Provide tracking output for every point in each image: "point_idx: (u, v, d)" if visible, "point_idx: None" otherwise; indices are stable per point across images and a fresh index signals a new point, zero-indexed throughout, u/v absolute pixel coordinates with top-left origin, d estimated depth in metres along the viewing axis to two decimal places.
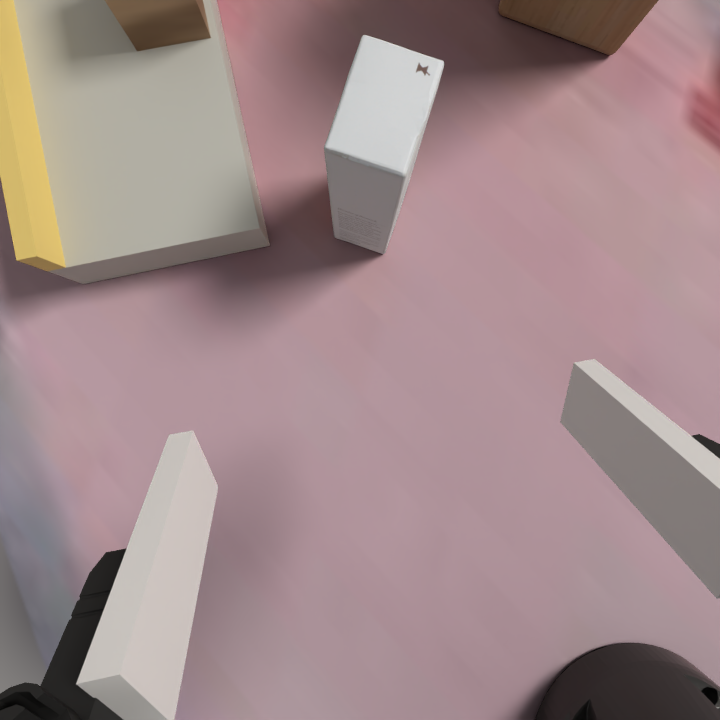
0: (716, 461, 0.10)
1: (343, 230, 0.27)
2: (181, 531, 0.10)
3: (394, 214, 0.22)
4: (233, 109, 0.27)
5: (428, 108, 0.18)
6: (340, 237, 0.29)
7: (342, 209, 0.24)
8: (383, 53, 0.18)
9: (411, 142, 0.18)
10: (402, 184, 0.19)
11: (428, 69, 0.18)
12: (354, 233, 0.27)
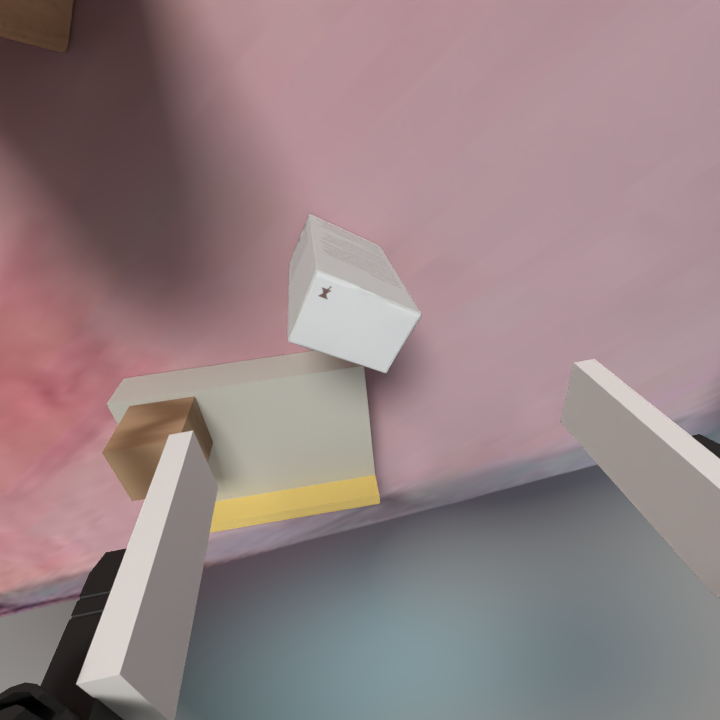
0: (716, 461, 0.10)
1: None
2: (181, 531, 0.10)
3: None
4: (259, 381, 0.31)
5: (363, 290, 0.19)
6: None
7: None
8: (308, 326, 0.20)
9: (393, 308, 0.20)
10: (417, 308, 0.21)
11: (325, 287, 0.19)
12: None
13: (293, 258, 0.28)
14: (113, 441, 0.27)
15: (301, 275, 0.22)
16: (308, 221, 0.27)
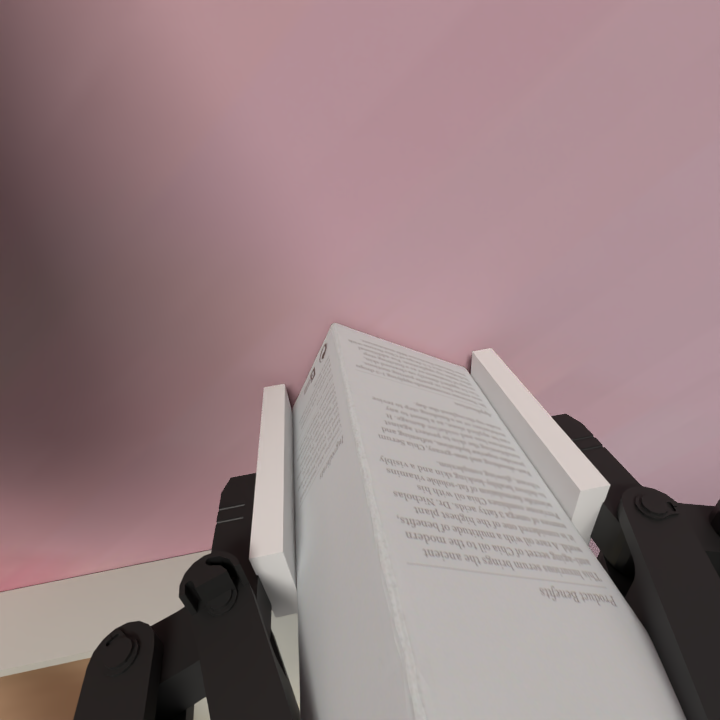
0: (561, 434, 0.11)
1: None
2: (290, 462, 0.12)
3: (581, 537, 0.10)
4: None
5: None
6: None
7: None
8: None
9: None
10: None
11: None
12: None
13: (301, 414, 0.14)
14: None
15: (337, 589, 0.08)
16: (333, 350, 0.12)
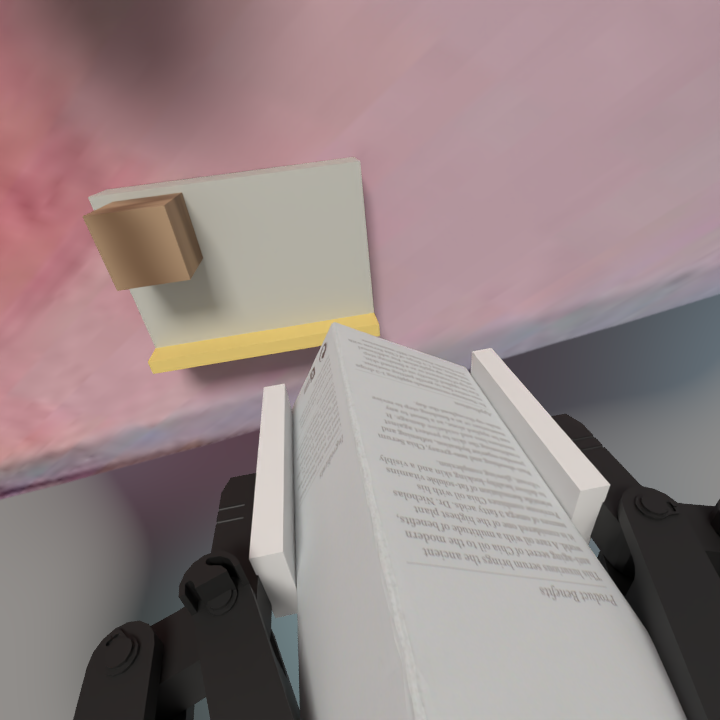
0: (561, 435, 0.11)
1: None
2: (290, 462, 0.12)
3: (581, 536, 0.10)
4: (249, 176, 0.29)
5: None
6: None
7: None
8: None
9: None
10: None
11: None
12: None
13: (301, 414, 0.14)
14: (94, 212, 0.25)
15: (336, 588, 0.08)
16: (333, 349, 0.12)
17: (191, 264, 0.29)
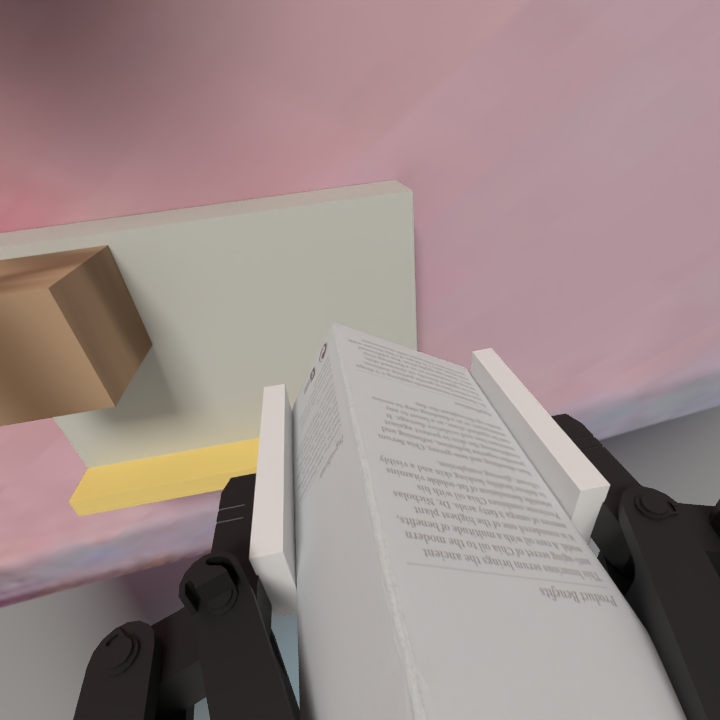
0: (561, 434, 0.11)
1: None
2: (290, 462, 0.12)
3: (581, 536, 0.10)
4: (225, 217, 0.17)
5: None
6: None
7: None
8: None
9: None
10: None
11: None
12: None
13: (301, 414, 0.14)
14: None
15: (336, 589, 0.08)
16: (333, 349, 0.12)
17: (122, 372, 0.16)
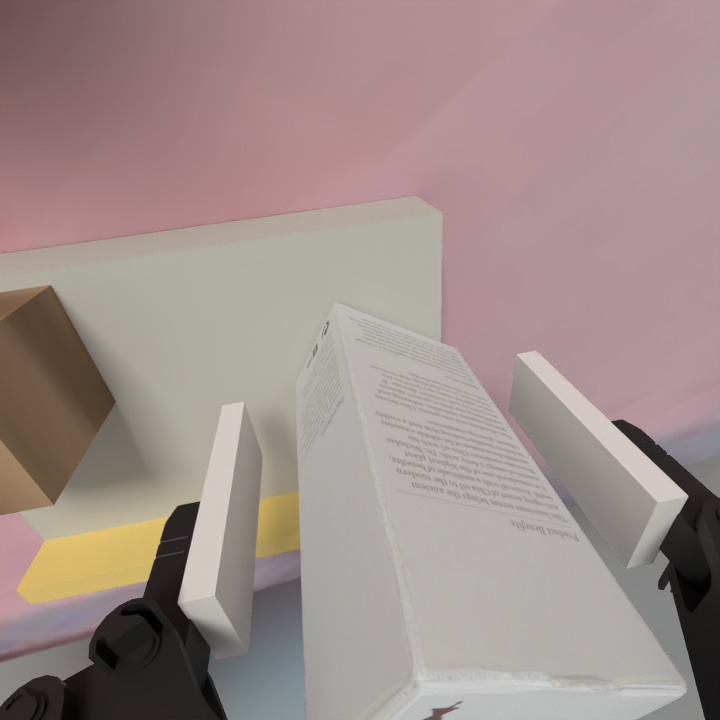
0: (626, 442, 0.10)
1: None
2: (242, 488, 0.11)
3: None
4: (202, 248, 0.13)
5: (558, 687, 0.06)
6: None
7: None
8: None
9: (628, 698, 0.07)
10: (654, 637, 0.08)
11: (443, 706, 0.05)
12: None
13: (304, 386, 0.15)
14: None
15: (336, 520, 0.09)
16: (335, 325, 0.13)
17: (67, 453, 0.13)
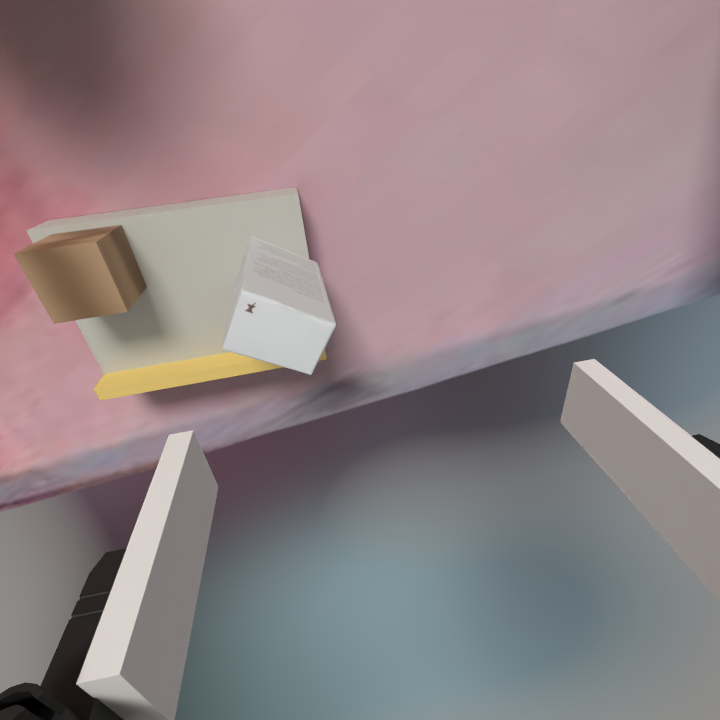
0: (716, 461, 0.10)
1: None
2: (181, 531, 0.10)
3: (327, 296, 0.28)
4: (189, 208, 0.30)
5: (283, 305, 0.23)
6: None
7: None
8: (238, 336, 0.23)
9: (311, 319, 0.23)
10: (334, 319, 0.25)
11: (250, 303, 0.22)
12: None
13: (237, 275, 0.31)
14: (27, 248, 0.26)
15: (236, 292, 0.25)
16: (249, 242, 0.30)
17: (130, 296, 0.29)
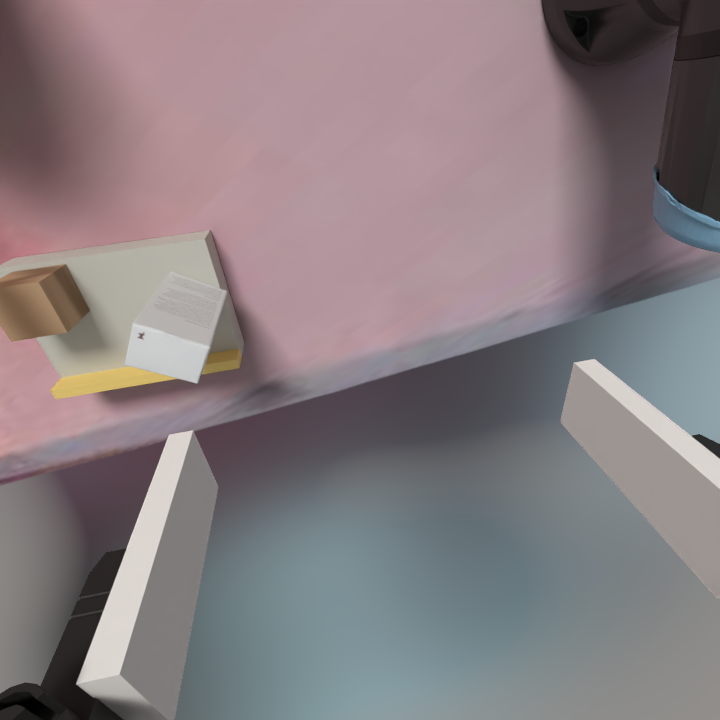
0: (716, 461, 0.10)
1: None
2: (181, 531, 0.10)
3: (217, 322, 0.36)
4: (118, 251, 0.39)
5: (166, 333, 0.31)
6: None
7: None
8: (135, 355, 0.32)
9: (189, 343, 0.32)
10: (211, 342, 0.33)
11: (140, 332, 0.31)
12: None
13: None
14: None
15: None
16: (165, 278, 0.39)
17: (71, 319, 0.38)
